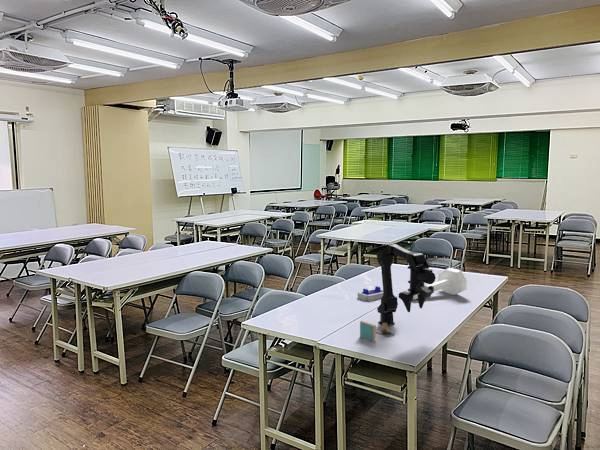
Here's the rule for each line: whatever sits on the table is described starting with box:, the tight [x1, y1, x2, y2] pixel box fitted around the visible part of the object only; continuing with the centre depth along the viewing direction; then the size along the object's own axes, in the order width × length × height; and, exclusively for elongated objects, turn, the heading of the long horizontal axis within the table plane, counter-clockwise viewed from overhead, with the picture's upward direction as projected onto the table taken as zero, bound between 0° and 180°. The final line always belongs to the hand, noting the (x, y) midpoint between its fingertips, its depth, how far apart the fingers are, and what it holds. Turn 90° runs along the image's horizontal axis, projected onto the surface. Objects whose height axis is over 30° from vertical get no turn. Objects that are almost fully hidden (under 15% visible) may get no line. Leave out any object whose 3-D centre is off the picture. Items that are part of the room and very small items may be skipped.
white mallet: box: [406, 267, 468, 301], centre depth 296 cm, size 24×18×35 cm
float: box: [376, 322, 395, 338], centre depth 231 cm, size 8×5×6 cm, turn 37°
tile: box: [359, 320, 377, 343], centre depth 224 cm, size 9×2×8 cm, turn 36°
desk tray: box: [357, 288, 383, 302], centre depth 296 cm, size 10×18×4 cm, turn 126°
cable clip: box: [362, 285, 381, 295], centre depth 296 cm, size 12×4×6 cm, turn 123°
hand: (414, 310), depth 225 cm, fingers open, 9 cm apart
